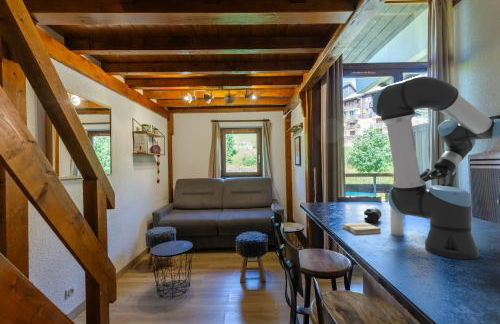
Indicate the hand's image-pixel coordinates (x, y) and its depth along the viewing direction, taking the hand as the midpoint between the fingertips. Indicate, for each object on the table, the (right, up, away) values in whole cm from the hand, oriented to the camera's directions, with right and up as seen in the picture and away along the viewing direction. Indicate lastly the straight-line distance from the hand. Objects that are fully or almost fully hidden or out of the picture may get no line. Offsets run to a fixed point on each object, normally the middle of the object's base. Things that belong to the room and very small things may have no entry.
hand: (419, 196), depth 114 cm
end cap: (-11, -17, +21) cm, 29 cm away
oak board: (-24, -17, +6) cm, 30 cm away
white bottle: (-11, -17, -2) cm, 20 cm away
